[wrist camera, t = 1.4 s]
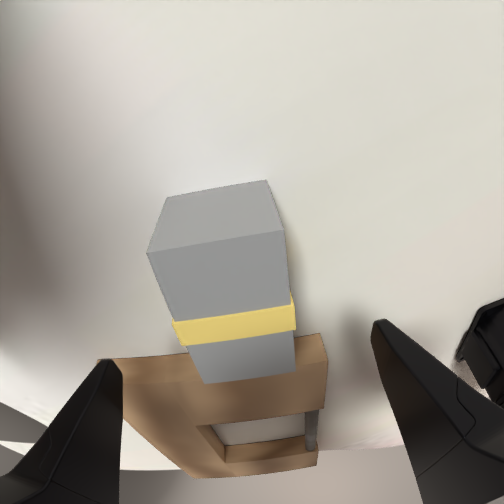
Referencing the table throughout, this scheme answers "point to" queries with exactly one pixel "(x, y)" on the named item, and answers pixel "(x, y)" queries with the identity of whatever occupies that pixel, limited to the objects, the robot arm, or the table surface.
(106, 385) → the robot arm
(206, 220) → the grey banded block
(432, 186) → the table surface
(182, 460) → the brown wooden flat frame
